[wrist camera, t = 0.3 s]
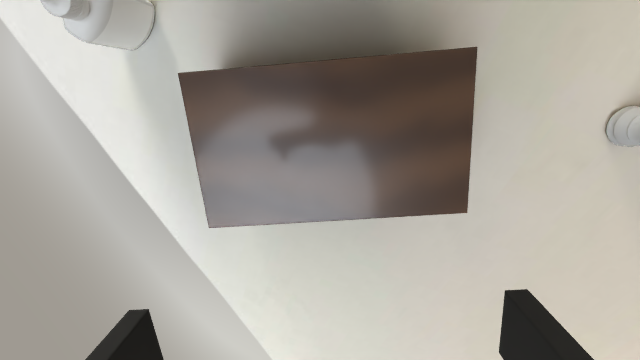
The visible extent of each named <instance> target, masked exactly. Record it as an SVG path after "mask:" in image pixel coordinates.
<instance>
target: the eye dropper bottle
mask: <svg viewBox="0 0 640 360" xmlns="http://www.w3.org/2000/svg"><path fill="white" fill-rule="evenodd" d="M41 3H42V5H43V7H44V8H45V9H46V10H47V11H48V12H49V13H50V14H52V15H54V16H58V17H62V18H63V23H64V26H65V29H66V30H67V31H68V32H69V33H70V34H72V35H73V36H75V37H76V38H78V39H79V40H81V41H83V42H86V43H90V44H95V45H101V46H107V47H113V48H119V49H126V50H135V49H137V48H138V47H140V46H141V45H142V44H143V43H144V42H145V40H146V39H147V38H148V36H149V34H150V32H151V30H152V27H153V23H154V16H155V9H154V6H153V4H152V3H151V2H150V1H148V0H41Z"/></svg>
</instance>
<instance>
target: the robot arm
mask: <svg viewBox="0 0 640 360" xmlns="http://www.w3.org/2000/svg"><path fill="white" fill-rule="evenodd" d="M499 353H500V355H501V356H502V358H503V359H504V360H594V359H593V358H592V357H591V356H590V355H589V354H588V353H587V352H586V351H585V350H584V349H583V348H582V347H581V346H580V345H579V344H578V342H577V341H576V340H575V339H574V338H573V337H572V336H571V335H570V334H569V333H568V332H567V331H566V330H565V329H564V328H563V327H562V326H561V324H560V323H559V322H558V321H557V320H556V319H555V318H554V317H553V316H552V315H551V314H550V313H549V312H548V311H547V310H546V309H545V308H544V306H543V305H542V304H541V303H540V302H539V301H538V300H537V299H536V298H535V297H534V296H533V295H532V294H531V293H530V292H529V291H528V290H527V289H525V290H506V291H505V296H504V306H503V316H502V326H501V337H500V347H499ZM86 360H163V356H162V353H161V349H160V346H159V343H158V339H157V336H156V333H155V329H154V326H153V322H152V320H151V316H150V313H149V309H143V310H129V311H128V312H127V313H126V314H125V315H124V317H123V318H122V319H121V320H120V321H119V322H118V323H117V325H116V326H115V327H114V328H113V329H112V330H111V331H110V332H109V334H108V335H107V336H106V337H105V338H104V339H103V340H102V341H101V343H100V344H99V345H98V346H97V347H96V348H95V349H94V351H93V352H92V353H91V354H90V355H89V356H88V357H87V358H86Z"/></svg>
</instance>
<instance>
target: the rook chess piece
mask: <svg viewBox="0 0 640 360" xmlns="http://www.w3.org/2000/svg"><path fill="white" fill-rule="evenodd" d="M606 133H607V135H608V138H609V140H610V141H611V142H612V143H614V144H615V145H619V146H627V147H634V146H640V107H638V106H629V107H625V108H623V109H621V110H619V111H618V112H616V113H615V114H614V115H613V116H612V117H611V118H610V120H609V122H608V124H607V129H606Z"/></svg>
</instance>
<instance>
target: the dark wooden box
mask: <svg viewBox="0 0 640 360" xmlns="http://www.w3.org/2000/svg"><path fill="white" fill-rule="evenodd" d="M476 59H477V47H470V48H458V49H447V50H435V51H424V52H413V53H401V54H390V55H378V56H367V57H355V58H344V59H333V60H321V61H310V62H298V63H287V64H276V65H264V66H253V67H241V68H230V69H218V70H207V71H196V72H184V73H178V76H179V81H180V86H181V91H182V96H183V101H184V106H185V111H186V116H187V121H188V126H189V131H190V136H191V141H192V146H193V151H194V156H195V161H196V166H197V171H198V176H199V180H200V185H201V190H202V195H203V200H204V205H205V210H206V215H207V220H208V225H209V228H218V227H234V226H251V225H268V224H285V223H302V222H319V221H336V220H353V219H370V218H387V217H404V216H420V215H437V214H454V213H467V207H468V191H469V174H470V158H471V141H472V125H473V108H474V92H475V75H476Z"/></svg>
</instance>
